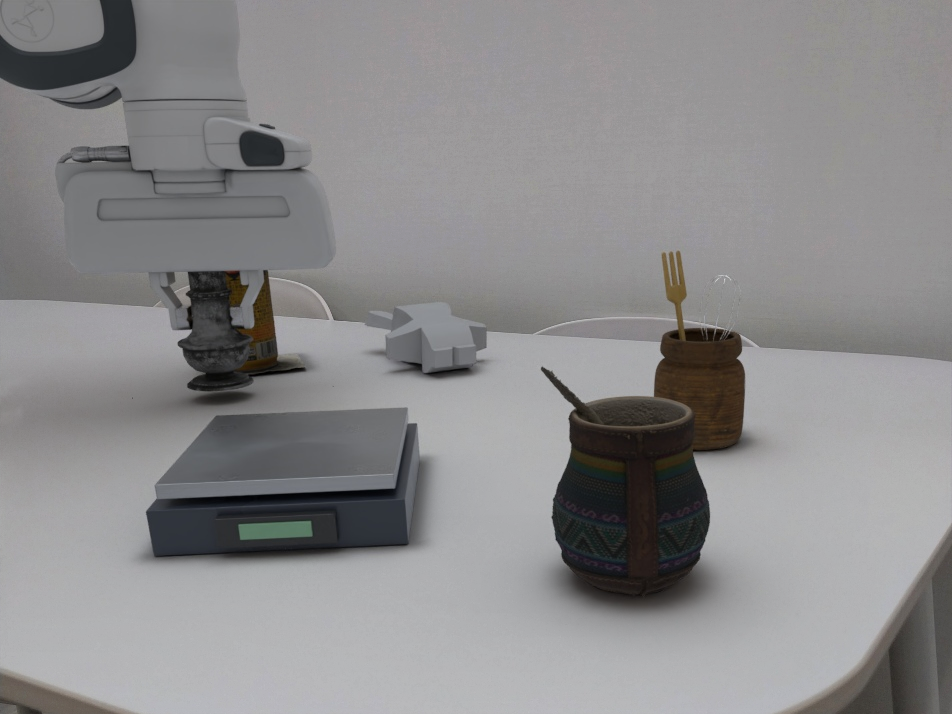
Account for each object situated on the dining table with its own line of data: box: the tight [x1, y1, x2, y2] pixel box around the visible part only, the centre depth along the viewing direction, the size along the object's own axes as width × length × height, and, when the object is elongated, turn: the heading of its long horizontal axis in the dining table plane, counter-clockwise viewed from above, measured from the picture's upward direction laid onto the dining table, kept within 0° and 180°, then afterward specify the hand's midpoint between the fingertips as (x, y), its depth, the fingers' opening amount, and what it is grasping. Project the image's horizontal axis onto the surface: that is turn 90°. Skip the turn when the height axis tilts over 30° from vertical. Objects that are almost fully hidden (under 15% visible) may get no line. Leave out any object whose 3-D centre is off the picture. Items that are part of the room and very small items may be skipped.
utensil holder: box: [653, 250, 746, 451], centre depth 63 cm, size 6×6×12 cm
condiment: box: [225, 270, 307, 376], centre depth 88 cm, size 7×8×12 cm
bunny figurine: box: [364, 301, 488, 374], centre depth 90 cm, size 10×5×15 cm
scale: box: [145, 422, 421, 557], centre depth 55 cm, size 13×15×2 cm
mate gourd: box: [540, 366, 711, 598], centre depth 44 cm, size 7×8×10 cm
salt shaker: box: [177, 271, 255, 393], centre depth 77 cm, size 6×6×12 cm
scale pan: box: [154, 407, 410, 500], centre depth 55 cm, size 12×13×1 cm
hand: (214, 328), depth 78 cm, fingers closed on salt shaker, 3 cm apart
